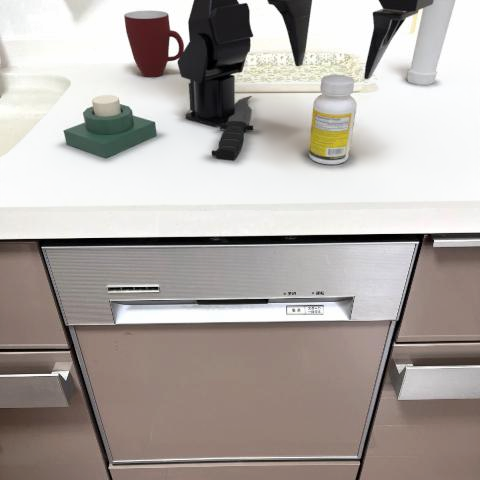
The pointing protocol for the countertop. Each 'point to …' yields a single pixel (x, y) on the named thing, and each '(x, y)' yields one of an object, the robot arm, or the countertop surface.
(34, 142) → the countertop surface
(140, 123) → the green peg holder
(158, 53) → the mug
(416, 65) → the white tall cylinder
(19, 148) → the countertop surface
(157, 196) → the countertop surface
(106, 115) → the cream short cylinder
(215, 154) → the knife
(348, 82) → the supplement bottle
